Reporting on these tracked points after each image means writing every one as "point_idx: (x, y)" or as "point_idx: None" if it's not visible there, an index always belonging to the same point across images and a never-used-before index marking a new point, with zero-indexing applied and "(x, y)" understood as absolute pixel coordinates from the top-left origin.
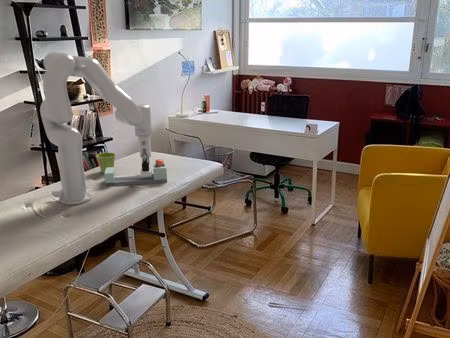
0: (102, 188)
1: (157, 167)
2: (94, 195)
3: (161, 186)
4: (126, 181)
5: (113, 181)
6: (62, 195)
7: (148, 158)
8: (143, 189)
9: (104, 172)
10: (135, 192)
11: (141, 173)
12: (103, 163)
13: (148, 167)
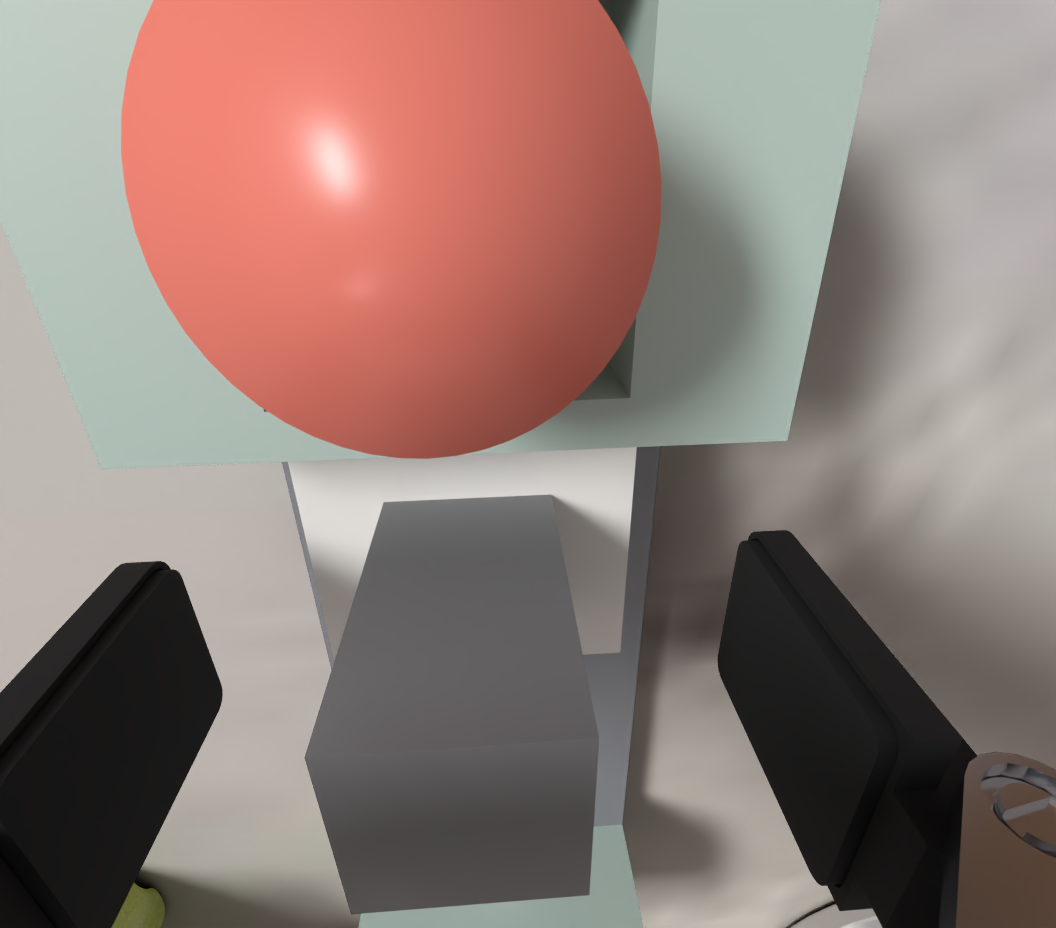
0: (672, 853)
1: (706, 296)
2: None
3: (896, 164)
4: (625, 722)
5: (625, 842)
6: None
7: (45, 739)
8: (898, 476)
9: (161, 923)
10: (962, 565)
11: (619, 626)
12: None
13: (830, 601)
